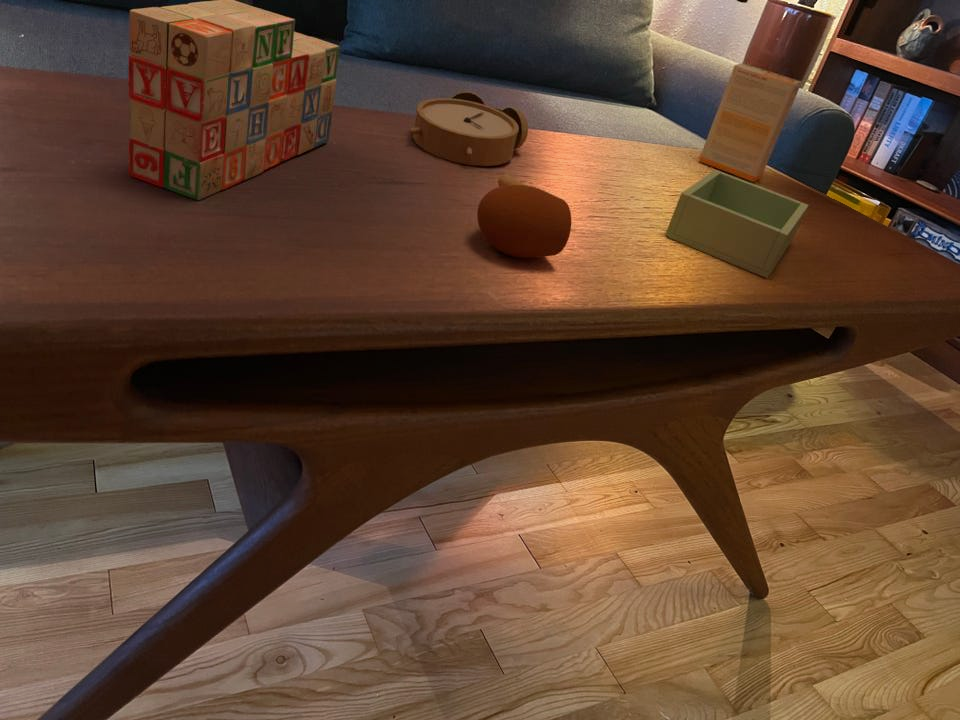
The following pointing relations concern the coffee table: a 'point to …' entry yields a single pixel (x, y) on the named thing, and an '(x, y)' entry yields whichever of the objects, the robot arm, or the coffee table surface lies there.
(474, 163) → the alarm clock
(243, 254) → the coffee table surface
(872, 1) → the robot arm
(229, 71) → the stack of blocks
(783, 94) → the supplement box
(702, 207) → the box
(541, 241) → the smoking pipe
